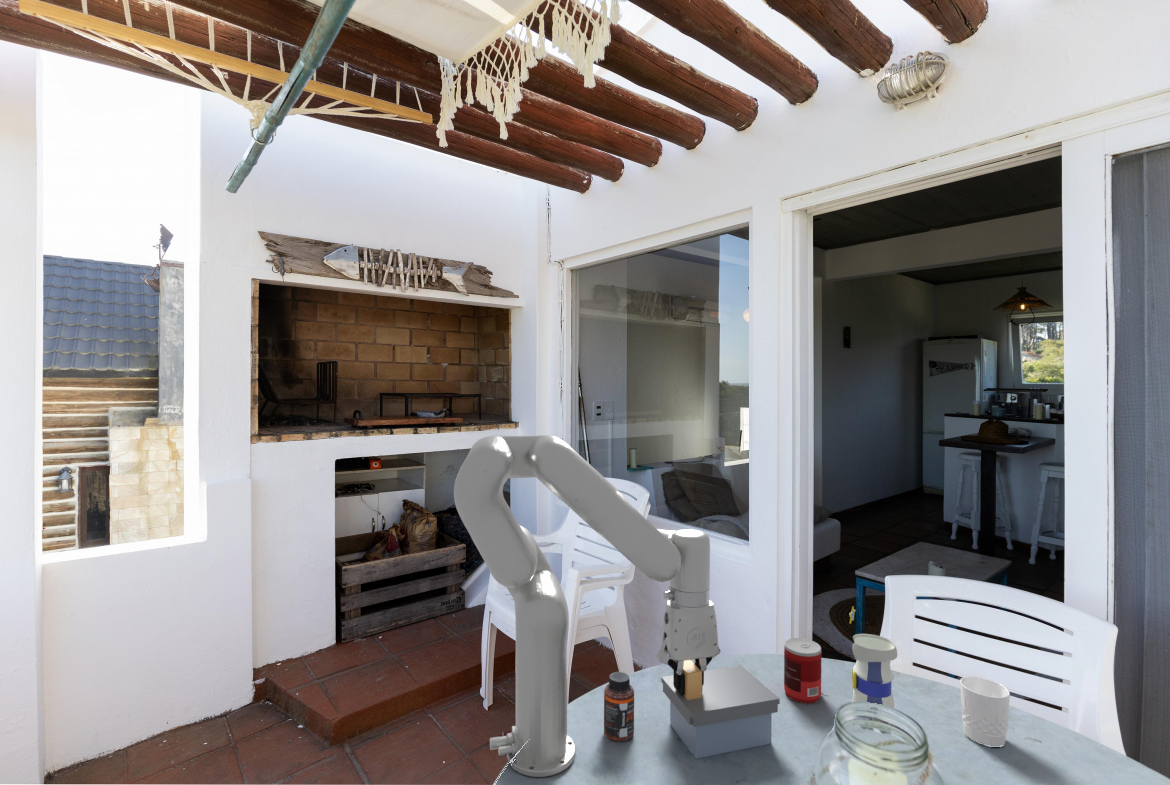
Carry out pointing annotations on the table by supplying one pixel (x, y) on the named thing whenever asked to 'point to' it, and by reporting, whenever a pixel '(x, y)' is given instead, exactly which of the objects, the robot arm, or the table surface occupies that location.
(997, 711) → the white cup
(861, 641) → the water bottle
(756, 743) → the tub
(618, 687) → the supplement bottle
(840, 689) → the table surface
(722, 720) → the lid
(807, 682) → the canned food
